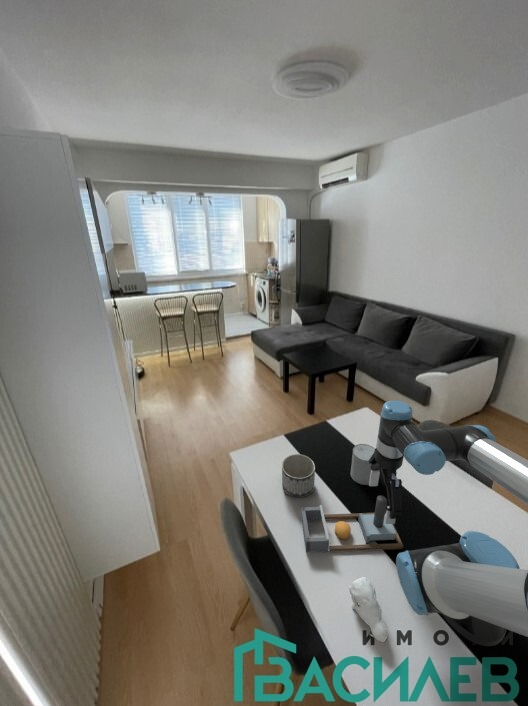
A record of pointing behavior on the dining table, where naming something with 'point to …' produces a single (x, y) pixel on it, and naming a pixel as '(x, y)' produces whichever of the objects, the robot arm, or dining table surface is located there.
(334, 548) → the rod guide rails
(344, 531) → the orange rounded piece
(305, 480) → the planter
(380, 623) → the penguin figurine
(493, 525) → the dining table surface
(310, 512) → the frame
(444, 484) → the dining table surface
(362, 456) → the grey cylinder
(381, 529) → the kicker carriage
